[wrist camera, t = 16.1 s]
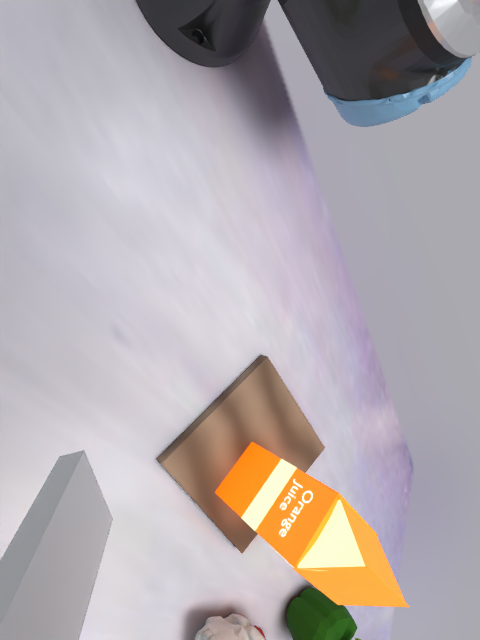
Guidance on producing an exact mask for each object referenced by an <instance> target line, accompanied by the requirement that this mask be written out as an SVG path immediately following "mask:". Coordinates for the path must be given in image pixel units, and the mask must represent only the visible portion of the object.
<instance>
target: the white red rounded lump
mask: <svg viewBox="0 0 480 640" xmlns="http://www.w3.org/2000/svg"><path fill="white" fill-rule="evenodd" d="M195 640H266V639H265V636H264V634H263V632H262V630H261V629H260V628H259V627H257V626H252V625H251V623H250V621H249V620H248V619H247V618H246V617H245V616H242V615H238V614H235V613H233V614H230V615H229V616H228V617H226V618H222V617H221V616H215V617H209V618H208V619H207V620H206V623H205V626H204V627H203V628H202V629H201V630H199V631H198V632H197V633H196V637H195Z"/></svg>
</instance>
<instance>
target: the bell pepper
mask: <svg viewBox="0 0 480 640" xmlns="http://www.w3.org/2000/svg"><path fill="white" fill-rule="evenodd" d="M286 620H287V626H288V629H289V631H290V633H291V636H292V638H293V640H351V639H352V637H353V636H354V634H355V632H356V629H357V626H356V624H355V622H354V620H353V618H352V616H351V615H350V613H349V612H348V610H347V609H346V608H345V607H344V606H343V605H337V604H336V603H335V602H334V601H332V600H331V599H330V598H329V597H327V596H326V595H325V594H324V593H322V592H321V591H319V590H317V589H314V588H306V589H305V590H303V591H302V592H301V595H300V597H295V598H294V599H293V600H292V601H291V602H290V605H289V607H288V609H287V619H286ZM355 640H360V639H358V638H356V639H355Z"/></svg>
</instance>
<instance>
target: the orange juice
mask: <svg viewBox="0 0 480 640" xmlns="http://www.w3.org/2000/svg"><path fill="white" fill-rule="evenodd" d="M215 493H216V494H217V495H218V496H219V497H220V498H221V499H222V500H223V501H224V502H225V503H226V504H227V505H228V506H229V507H231V508H232V509H233V510H234V511H235V512H236V513H237V514H238V515H239V516H240V517H241V518H242V519H243V520H244V521H245V522H246V523H247V524H248V525H249V526H250V527H251V528H252V529H253V530H254V531H256V532H257V533H258V534H259V535H260V536H261V537H262V538H263V539H264V540H266V541H267V542H268V543H269V544H270V545H271V546H272V547H273V548H274V549H275V550H276V551H277V552H278V554H280V555H281V556H283V558H285V559H286V560H287V561H288V562H289V563H290V564H289V565H292V566H293V569H294V570H295V571H296V572H298V573H299V574H300V575H301V576H303V577H304V578H305V579H306V580H308V581H309V582H310V583H311V584H312V585H314V586H315V587H316V588H317V589H319V590H320V591H321V592H322V593H324V594H325V595H326V596H327V597H329V598H330V599H331V600H332V601H334V602H335V603H336V604H337V605H358V606H393V607H409V606H408V605H407V604H406V603H405V600H404V598H403V596H402V593H401V591H400V589H399V586H398V584H397V582H396V579H395V577H394V575H393V572H392V570H391V568H390V566H389V563H388V561H387V559H386V556H385V554H384V552H383V549H382V547H381V545H380V542H379V540H378V538H377V534H376V533H375V532H374V531H373V530H372V528H371V527H370V526H369V525H368V524H367V523H366V522H365V521H364V520H363V519H362V518H361V517H360V515H359V514H358V513H357V512H356V511H355V510H354V509H353V508H352V507H351V506H350V505H349V504H348V503H347V501H346V500H345V499H344V498H343V497H342V496H341V495H340V494H339V493H338V492H336V491H334V490H333V489H331V488H329V487H328V486H326V485H324V484H323V483H321V482H319V481H317V480H316V479H314V478H312V477H311V476H309V475H307V474H306V473H304V472H302V471H301V470H299V469H297V468H296V467H295V466H293V465H291V464H290V463H288V462H286V461H285V460H283V459H280V458H279V457H277V456H275V455H274V454H272V453H270V452H269V451H267V450H265V449H264V448H262V447H260V446H259V445H257V444H255V443H254V442H251V444H250V445H249V446H248V448H247V449H246V450H245V452H244V453H243V454H242V456H241V457H240V459H239V460H238V461H237V463H236V464H235V465H234V467H233V468H232V470H231V471H230V472H229V474H228V475H227V476H226V478H225V479H224V480H223V482H222V483H221V485H220V486H219V487H218V489H217V490H216V491H215ZM272 547H271V548H272ZM286 560H285V561H286Z"/></svg>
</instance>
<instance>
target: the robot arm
mask: <svg viewBox="0 0 480 640" xmlns="http://www.w3.org/2000/svg"><path fill="white" fill-rule="evenodd" d="M278 1H279V3H280V5H281V7H282V9H283V11H284V13H285V15H286V17H287V19H288V21H289V23H290V25H291V27H292V28H293V30H294V32H295V34H296V36H297V38H298V40H299V42H300V44H301V45H302V47H303V49H304V51H305V53H306V55H307V57H308V59H309V61H310V63H311V64H312V66H313V68H314V70H315V72H316V74H317V75H318V78H319V79H320V81H321V83H322V85H323V89H324V92H325V94H326V95H327V96H328V98H329V99H330V100H331V101H332V102H333V103H334V105H335V106H336V108H337V110H338V112H339V113H340V115H341V117H342V118H343V119H344V120H345V121H346V122H347V123H349V124H351V125H354V126H360V127H369V126H375V125H380V124H383V123H387V122H390V121H393V120H396V119H398V118H401V117H403V116H406V115H408V114H410V113H412V112H414V111H416V110H417V109H418V108H419V107H420V106H421V105H422V104H425V103H429V102H432V101H434V100H435V99H437V98H438V97H440V96H442V95H443V94H444V93H445V92H447V91H448V90H450V89H451V88H452V87H454V86H455V85H456V84H457V83H458V82H459V81H460V80H461V79H462V78H463V77H464V75H465V74H466V72H467V71H468V69H469V68H470V65H471V59H472V56H474V55H476V54H477V53H479V52H480V0H278ZM137 2H138V4H139V6H140V8H141V10H142V12H143V14H144V15H145V17H146V19H147V20H148V22H149V23H150V25H151V26H152V28H153V29H154V30H155V31H156V33H157V34H158V35H159V36H160V37H161V39H162V40H163V41H164V42H165V43H166V44H167V45H169V46H170V47H171V48H172V49H173V50H174V51H176V52H177V53H178V54H180V55H181V56H183V57H184V58H186V59H188V60H190V61H192V62H194V63H197V64H200V65H204V66H210V67H218V66H224V65H227V64H229V63H231V62H233V61H235V60H236V59H237V58H238V57H239V56H240V55H241V54H242V53H243V52H244V51H245V50H246V49H247V48H248V47H249V46H250V45H251V43H252V42H253V40H254V39H255V37H256V35H257V33H258V30H259V28H260V25H261V23H262V20H263V18H264V15H265V13H266V10H267V8H268V5H269V3H270V0H137ZM112 520H113V518H112V516H111V514H110V511H109V509H108V506H107V504H106V501H105V499H104V497H103V494H102V492H101V489H100V487H99V485H98V482H97V480H96V477H95V475H94V473H93V470H92V468H91V465H90V463H89V461H88V458H87V456H86V453H85V451H80V452H76V453H72V454H68V455H64V456H60V457H59V458H58V460H57V462H56V464H55V466H54V467H53V469H52V471H51V473H50V474H49V476H48V478H47V480H46V481H45V483H44V485H43V487H42V488H41V490H40V492H39V494H38V495H37V497H36V499H35V501H34V502H33V504H32V506H31V508H30V509H29V511H28V513H27V515H26V517H25V518H24V520H23V522H22V524H21V525H20V527H19V529H18V531H17V532H16V534H15V536H14V538H13V539H12V541H11V543H10V545H9V546H8V548H7V550H6V552H5V553H4V555H3V557H2V559H1V560H0V640H79V637H80V633H81V630H82V626H83V623H84V619H85V616H86V612H87V609H88V605H89V601H90V598H91V594H92V591H93V587H94V584H95V580H96V577H97V573H98V570H99V566H100V563H101V559H102V555H103V552H104V548H105V545H106V541H107V538H108V534H109V531H110V527H111V524H112Z"/></svg>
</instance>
